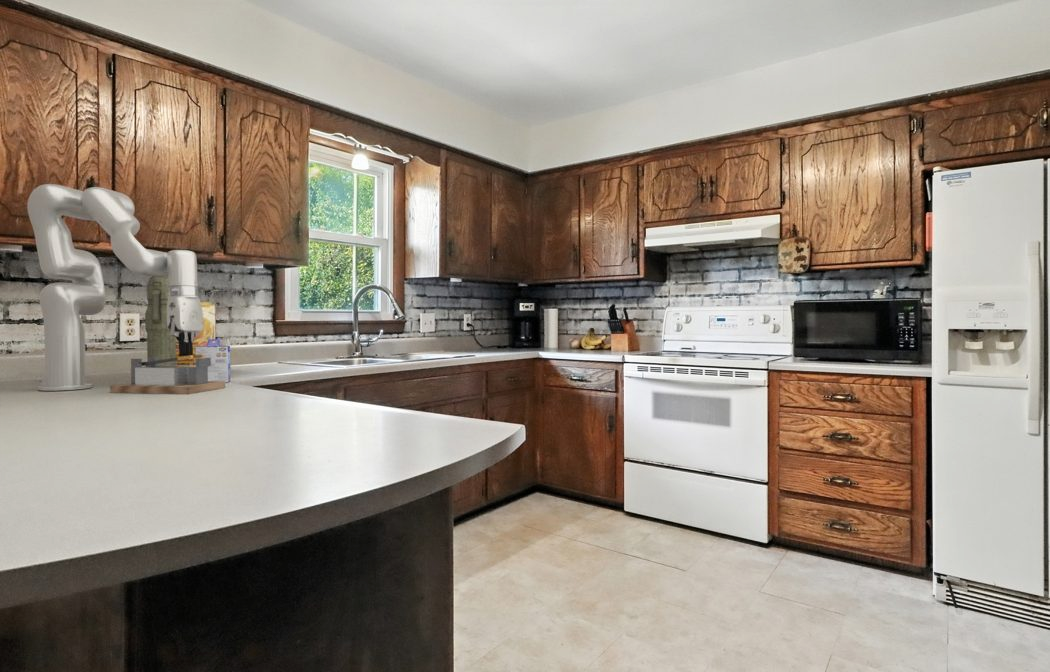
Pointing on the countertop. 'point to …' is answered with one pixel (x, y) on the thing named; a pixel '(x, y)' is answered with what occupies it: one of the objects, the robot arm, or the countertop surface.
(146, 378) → the heat sink
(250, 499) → the countertop surface
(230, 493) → the countertop surface
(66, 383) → the robot arm
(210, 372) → the ink cartridge box
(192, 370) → the lug
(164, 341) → the green stone totem
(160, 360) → the retention strap
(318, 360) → the countertop surface
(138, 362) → the hinge bracket
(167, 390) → the wooden board
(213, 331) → the pancake mix bag
